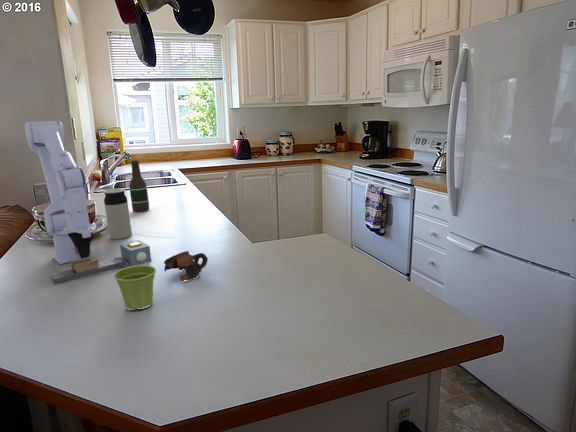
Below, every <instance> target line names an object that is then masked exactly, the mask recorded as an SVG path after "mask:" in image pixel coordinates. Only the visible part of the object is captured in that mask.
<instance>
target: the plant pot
mask: <svg viewBox="0 0 576 432" xmlns="http://www.w3.org/2000/svg"><path fill="white" fill-rule="evenodd" d="M156 273H157V269H156V267H154V266H151V265H145V264H144V265H143V264H139V265H135V266H128V267H124V268H122V269H119V270H117V271H116V272H115V273H114V274H113V278H114V280H116V284H117V285H118V286H119V289H120V294H121V295H122V299H123V303H124V306H125V308H126V307H127V308H129V309H138V308H143V307H146V306H148V305H150V304H151V303H152V302H153V300H154V279H155V274H156ZM152 304H153V303H152Z"/></svg>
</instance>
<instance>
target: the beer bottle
mask: <svg viewBox="0 0 576 432" xmlns="http://www.w3.org/2000/svg"><path fill="white" fill-rule="evenodd" d="M130 164H131V175H132V176H131V179H130V181H129V185H128V186H129V193H130V202H131V209H132V211H133V212H134V213H144V212H147V211H149V210H150V201H149V193H148V187H147V182H146V180H145V179H144V178H143V176H142V174H141V169H140V168H141V167H140V161H139V160H137V159H133V160H131V161H130Z"/></svg>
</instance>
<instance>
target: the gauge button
mask: <svg viewBox="0 0 576 432" xmlns="http://www.w3.org/2000/svg"><path fill="white" fill-rule="evenodd" d="M137 246H141V243H139V242H134V243H129V244H128V247H130V248H132V247H137Z"/></svg>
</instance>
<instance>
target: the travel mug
mask: <svg viewBox="0 0 576 432" xmlns="http://www.w3.org/2000/svg"><path fill="white" fill-rule="evenodd" d="M125 191H126V188H122V187H120V188H119V187H117V188H109V189H106V190H103V193H104V196H105V197H104V199H103V202H104V203H103V204H104V210H105V215H106V223H107V228H108V229H107V230H108V235H109V238H110V239H111V240H123V239H127V238H129V237H132V235H133V231H132V224H131V219H130V218H131V216H130V210H129V204H128V203H129V202H128V197H127V196H126V194H125Z"/></svg>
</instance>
